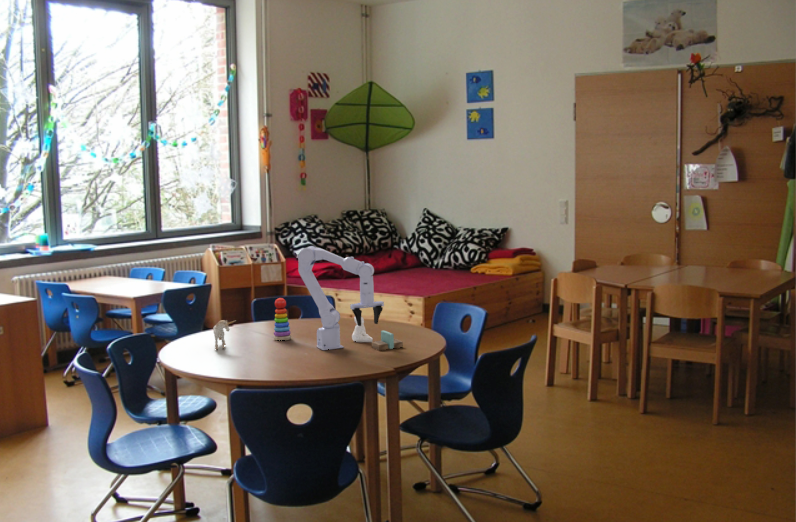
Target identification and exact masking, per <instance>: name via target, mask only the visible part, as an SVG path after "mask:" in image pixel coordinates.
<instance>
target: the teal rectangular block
mask: <svg viewBox="0 0 796 522" xmlns="http://www.w3.org/2000/svg"><path fill="white" fill-rule="evenodd" d="M394 339H395V338H394V333H393V332H392V333H391V332H389V331H387V330H380V341H383V342H385V343H387V344H388V348H390V349H389V350H394V349H393V348H394Z"/></svg>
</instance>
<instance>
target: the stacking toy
mask: <svg viewBox="0 0 796 522" xmlns="http://www.w3.org/2000/svg"><path fill="white" fill-rule="evenodd" d="M274 307H275V308H276V309H275V310H274V312H275V314H274V322H275V323H274V324H273V325H274V328H273V330H274V332H273V340H274V341H277V340H279V342H283V341H282V340H285V341H289V340H291V339H292V334H291V330H290V329H291V327H290V322H289V318H288V314H287V311H288V310H287V309H286V307H287V300H286V299H284V298H283V297H279V298H277V299H275V301H274ZM280 340H281V341H280Z"/></svg>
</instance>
